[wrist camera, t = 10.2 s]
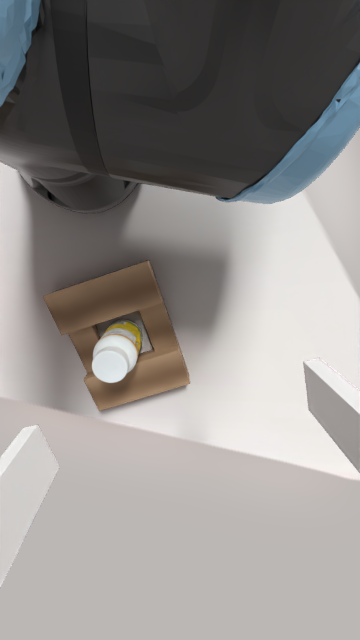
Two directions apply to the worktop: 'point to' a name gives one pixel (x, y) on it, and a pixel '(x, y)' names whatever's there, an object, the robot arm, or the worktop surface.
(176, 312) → the worktop surface
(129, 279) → the frame
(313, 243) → the worktop surface
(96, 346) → the supplement bottle
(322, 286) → the worktop surface
